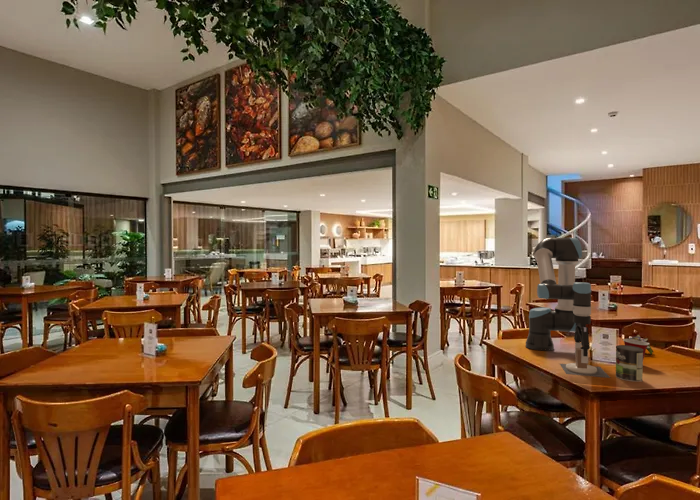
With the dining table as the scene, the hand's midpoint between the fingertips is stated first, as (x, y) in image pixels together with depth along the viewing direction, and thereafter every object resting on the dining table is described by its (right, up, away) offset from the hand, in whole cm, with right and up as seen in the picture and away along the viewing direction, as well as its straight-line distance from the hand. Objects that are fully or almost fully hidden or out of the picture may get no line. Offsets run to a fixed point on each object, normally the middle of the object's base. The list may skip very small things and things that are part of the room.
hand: (581, 359), depth 197 cm
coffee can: (+15, -6, -11) cm, 20 cm away
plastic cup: (+34, -6, +12) cm, 37 cm away
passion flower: (+52, -6, +36) cm, 64 cm away
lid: (0, -5, 0) cm, 5 cm away
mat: (+1, -6, 0) cm, 6 cm away
